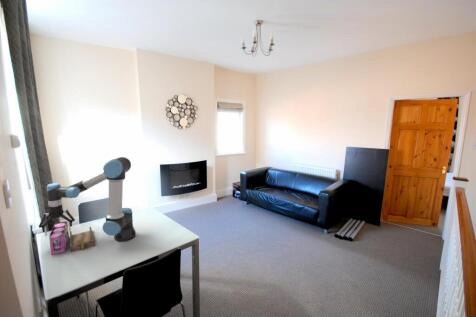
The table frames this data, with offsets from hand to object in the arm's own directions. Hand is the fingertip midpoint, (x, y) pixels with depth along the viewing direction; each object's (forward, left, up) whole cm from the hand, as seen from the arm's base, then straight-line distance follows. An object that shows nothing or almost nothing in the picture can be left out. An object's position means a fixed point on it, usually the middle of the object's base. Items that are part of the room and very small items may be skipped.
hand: (58, 233), depth 165 cm
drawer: (-13, +2, -10) cm, 17 cm away
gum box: (0, 0, -10) cm, 10 cm away
